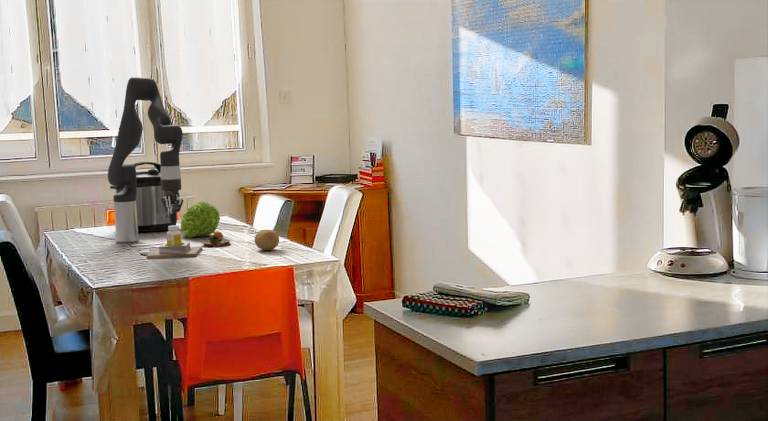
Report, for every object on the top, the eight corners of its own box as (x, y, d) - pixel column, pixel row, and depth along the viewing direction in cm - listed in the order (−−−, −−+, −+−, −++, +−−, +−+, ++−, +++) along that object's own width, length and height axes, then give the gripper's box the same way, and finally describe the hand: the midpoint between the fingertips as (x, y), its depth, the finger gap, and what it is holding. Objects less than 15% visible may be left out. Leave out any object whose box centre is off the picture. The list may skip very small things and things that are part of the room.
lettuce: (174, 243, 401) (209, 243, 408) (187, 232, 379) (224, 232, 386) (173, 210, 404) (208, 211, 411) (186, 197, 382) (223, 198, 389)
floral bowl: (216, 242, 375) (215, 224, 374) (236, 244, 368) (235, 226, 367) (194, 246, 365) (193, 228, 364) (215, 248, 358) (214, 230, 357)
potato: (274, 246, 357) (273, 226, 356) (284, 251, 344) (283, 230, 343) (250, 248, 354) (249, 228, 353) (258, 253, 341) (258, 232, 340)
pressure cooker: (182, 224, 438) (179, 159, 435) (179, 232, 410) (175, 162, 407) (118, 227, 433) (114, 161, 430) (110, 235, 406) (106, 165, 402)
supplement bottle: (166, 252, 343) (164, 227, 342) (169, 250, 349) (167, 225, 347) (180, 251, 343) (178, 226, 342) (183, 249, 349) (181, 224, 347)
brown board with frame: (155, 251, 354) (155, 241, 354) (202, 249, 355) (201, 240, 355) (146, 258, 337) (146, 248, 336) (195, 256, 338) (194, 247, 337)
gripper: (188, 177, 340) (191, 223, 342) (170, 176, 350) (173, 220, 352) (171, 179, 335) (173, 225, 337) (153, 178, 345) (155, 222, 347)
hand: (173, 223), depth 345 cm, fingers closed
